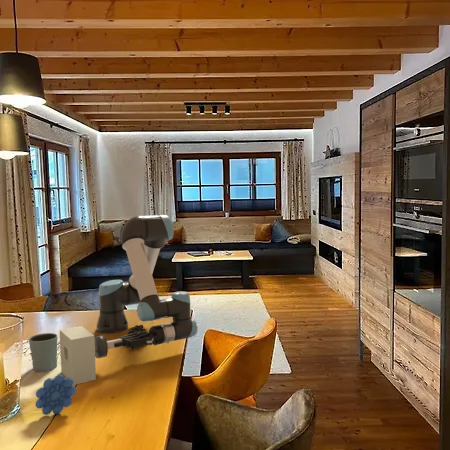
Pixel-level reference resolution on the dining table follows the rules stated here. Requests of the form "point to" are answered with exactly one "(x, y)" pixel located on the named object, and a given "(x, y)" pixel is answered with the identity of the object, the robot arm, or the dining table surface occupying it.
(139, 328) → the fruit
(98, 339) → the knob
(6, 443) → the dining table surface
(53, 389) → the grapes
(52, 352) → the grey-green cup
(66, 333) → the cream rectangular block
